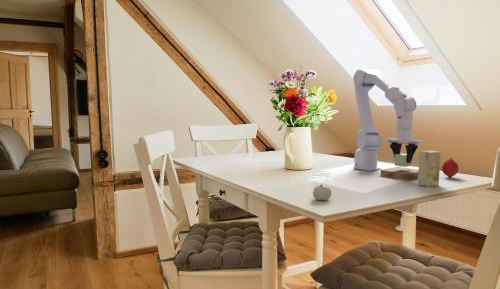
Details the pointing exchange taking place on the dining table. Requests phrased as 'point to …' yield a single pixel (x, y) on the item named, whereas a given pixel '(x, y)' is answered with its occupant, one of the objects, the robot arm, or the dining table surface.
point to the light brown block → (400, 173)
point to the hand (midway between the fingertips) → (403, 162)
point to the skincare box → (429, 168)
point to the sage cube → (401, 160)
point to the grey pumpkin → (322, 192)
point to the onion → (450, 168)
